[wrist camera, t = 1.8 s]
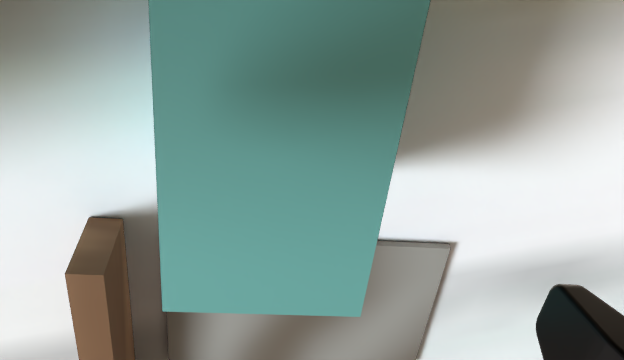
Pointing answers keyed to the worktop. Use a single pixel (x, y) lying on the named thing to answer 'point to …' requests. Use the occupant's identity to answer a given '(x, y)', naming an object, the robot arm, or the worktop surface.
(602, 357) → the robot arm
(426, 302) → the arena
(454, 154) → the worktop surface
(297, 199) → the teal block
